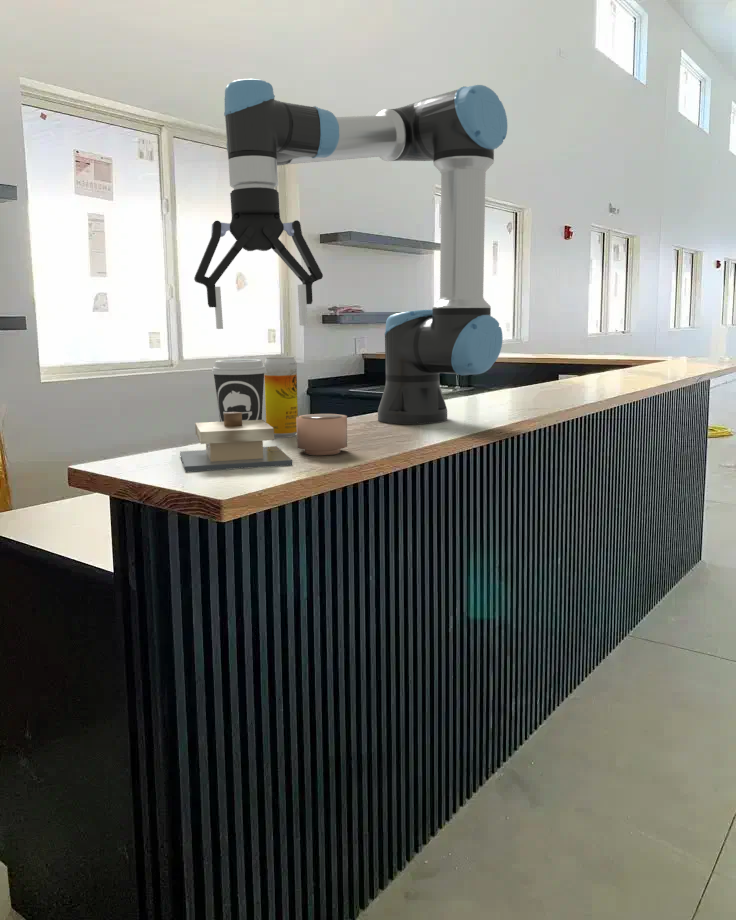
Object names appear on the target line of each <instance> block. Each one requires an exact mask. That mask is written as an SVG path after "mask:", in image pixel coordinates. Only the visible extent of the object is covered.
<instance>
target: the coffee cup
mask: <svg viewBox="0 0 736 920" xmlns="http://www.w3.org/2000/svg"><path fill="white" fill-rule="evenodd" d="M264 373H267V371H266V368H265V366H264V362H263V361H262V360H261V359H249V358H248V359H222V360H221V359H219V360H215V363H214V366H213V367H212V369H211V372H210V374H211V375H213V378H214V379H213V380H214V384H215V386H214V387H215V393H216V398H217V399H216V400H217V408H218V415H219V422H224V413H226V412H242V421H247V420H263V404H264V403H263V402H264V401H263V400H264V397H263V396H264V387H265V377H264Z"/></svg>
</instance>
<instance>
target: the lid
mask: <svg viewBox="0 0 736 920" xmlns="http://www.w3.org/2000/svg"><path fill="white" fill-rule="evenodd" d="M194 426H195V428H194V429H195V435H196V438H198V441H199V443H200V445H206V444H209V443H228V442H247V441H263V442H265V441H275V437H274V428H273V427H271V426H270V425H269V424H268V423H266V420H264V419H262V420H247V421H242V412H226V413H224V422H220V421H210V422H209V421H208V422H194Z"/></svg>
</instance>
